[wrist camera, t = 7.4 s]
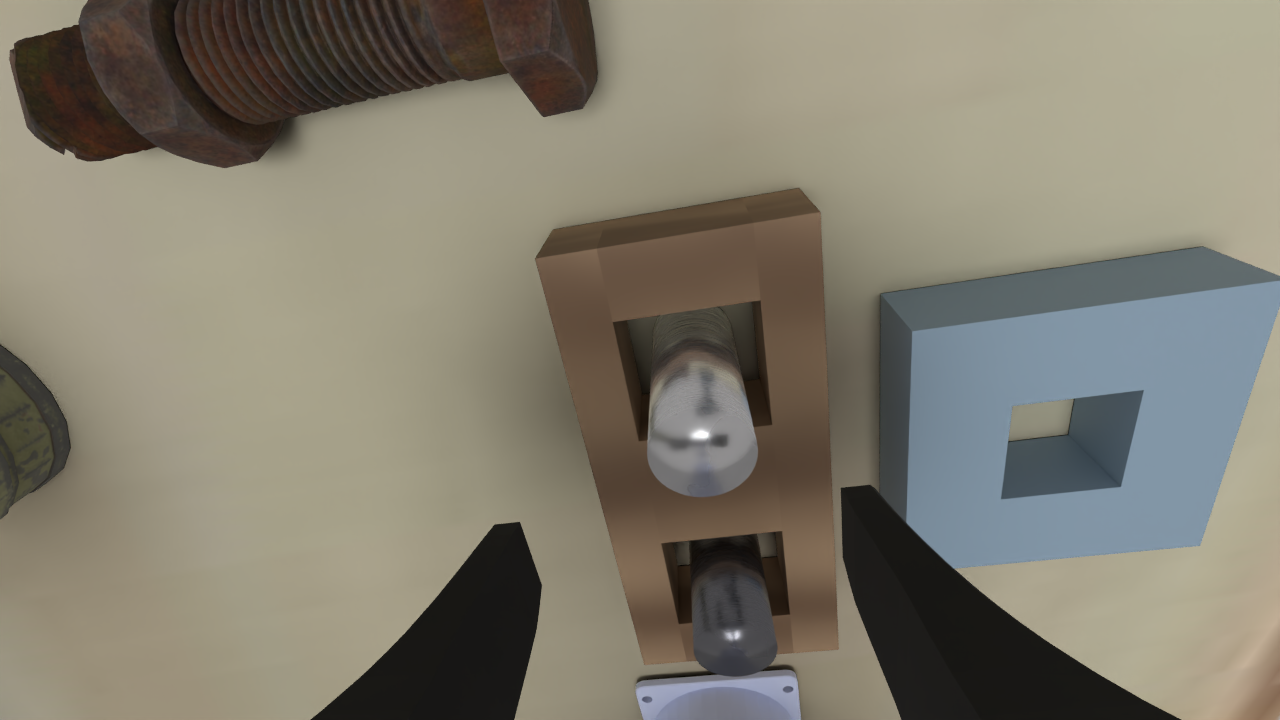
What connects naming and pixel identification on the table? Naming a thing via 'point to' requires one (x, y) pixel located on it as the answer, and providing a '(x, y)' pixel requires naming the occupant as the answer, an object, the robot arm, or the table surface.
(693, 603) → the black pin
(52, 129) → the bolt
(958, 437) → the socket block
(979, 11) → the table surface
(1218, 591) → the table surface
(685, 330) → the steel pin
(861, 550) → the robot arm
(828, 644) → the rack
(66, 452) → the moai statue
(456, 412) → the table surface
